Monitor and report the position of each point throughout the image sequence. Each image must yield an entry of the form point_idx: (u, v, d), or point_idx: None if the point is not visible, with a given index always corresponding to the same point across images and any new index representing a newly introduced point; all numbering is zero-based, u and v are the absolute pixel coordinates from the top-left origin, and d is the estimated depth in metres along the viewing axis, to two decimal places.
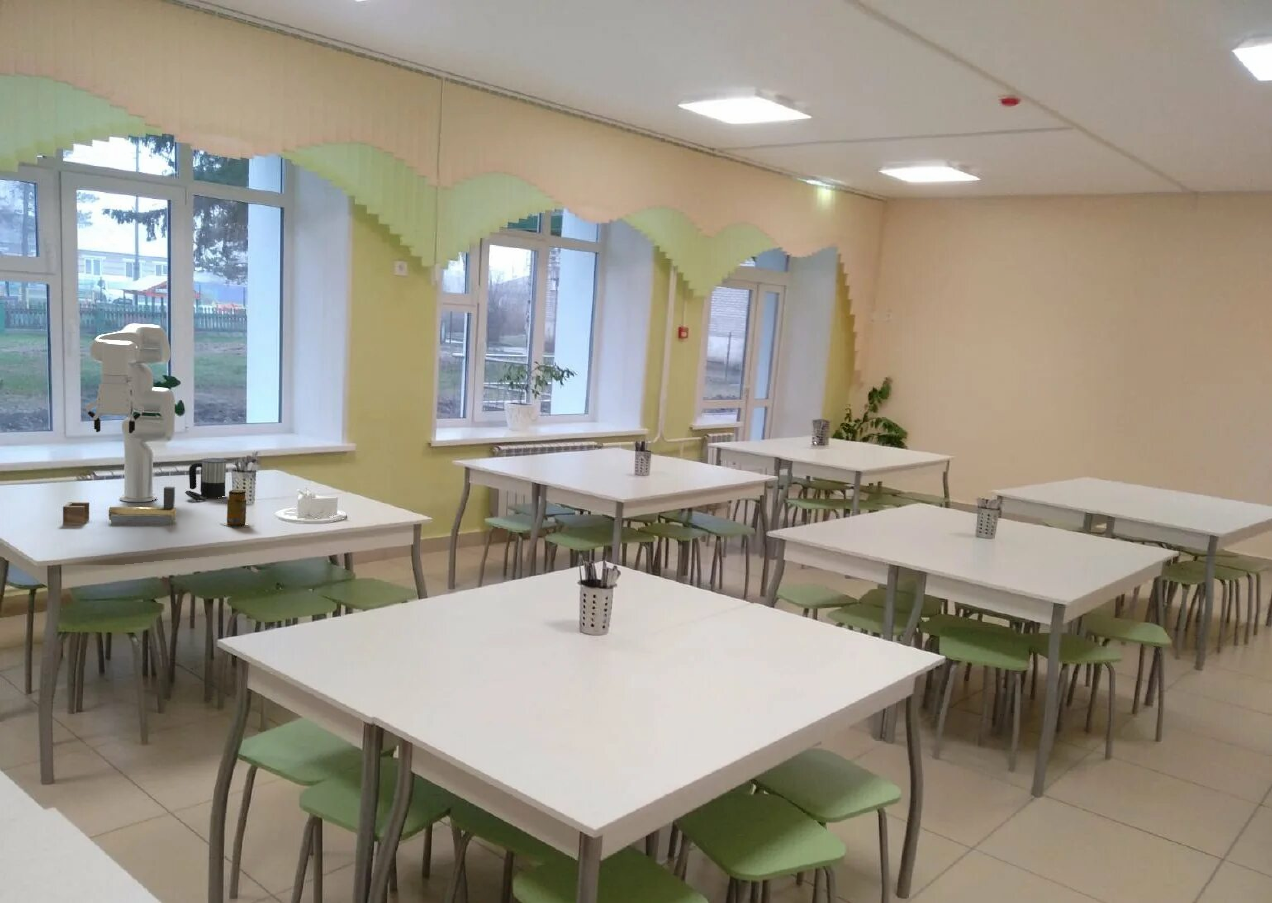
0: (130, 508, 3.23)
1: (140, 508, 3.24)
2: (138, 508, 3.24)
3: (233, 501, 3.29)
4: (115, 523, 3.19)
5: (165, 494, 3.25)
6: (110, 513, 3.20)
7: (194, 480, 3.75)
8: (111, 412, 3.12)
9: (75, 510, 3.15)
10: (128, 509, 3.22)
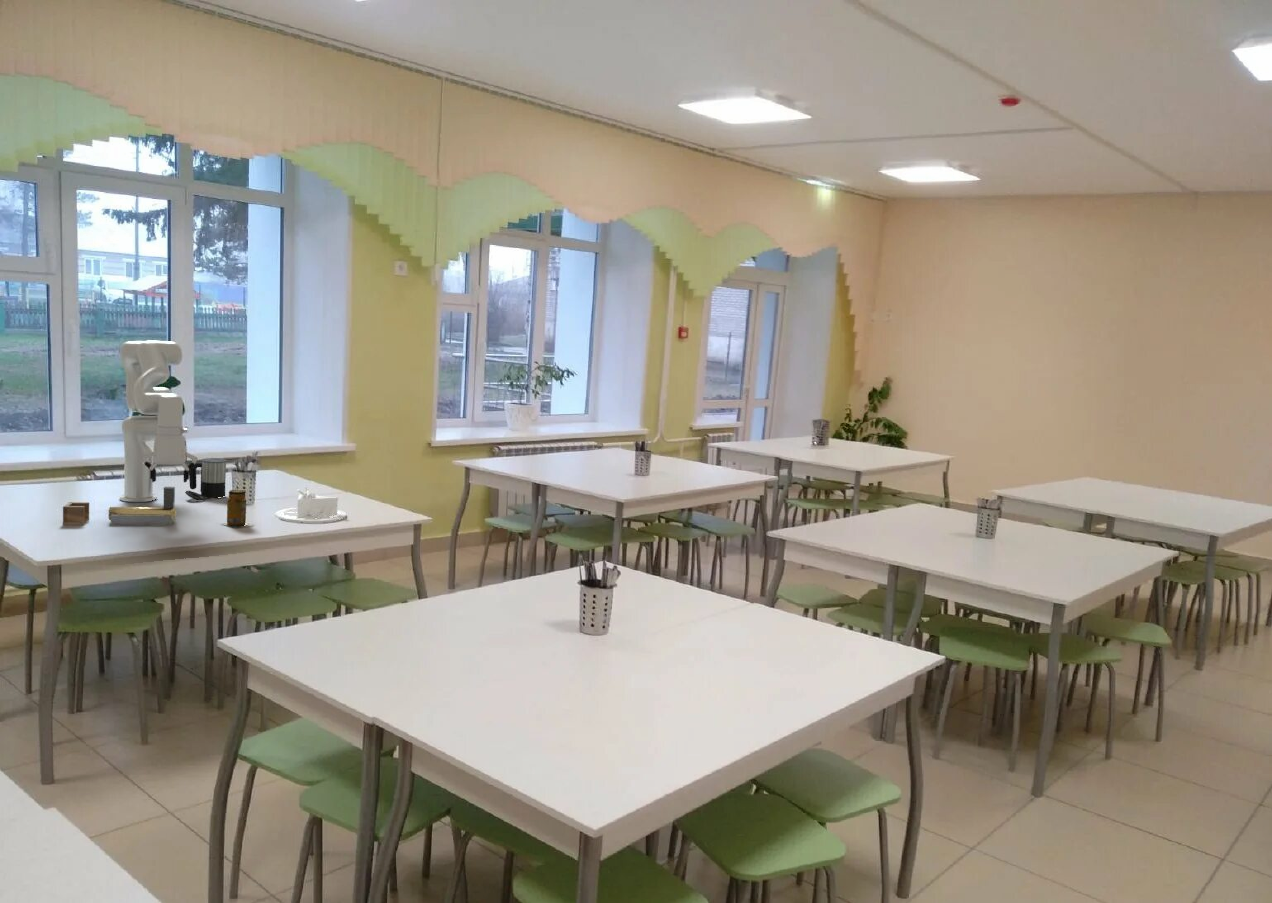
0: (130, 508, 3.23)
1: (140, 508, 3.24)
2: (138, 508, 3.24)
3: (233, 501, 3.29)
4: (115, 523, 3.19)
5: (165, 494, 3.25)
6: (110, 513, 3.20)
7: (194, 480, 3.75)
8: (167, 462, 3.23)
9: (75, 510, 3.15)
10: (128, 509, 3.22)
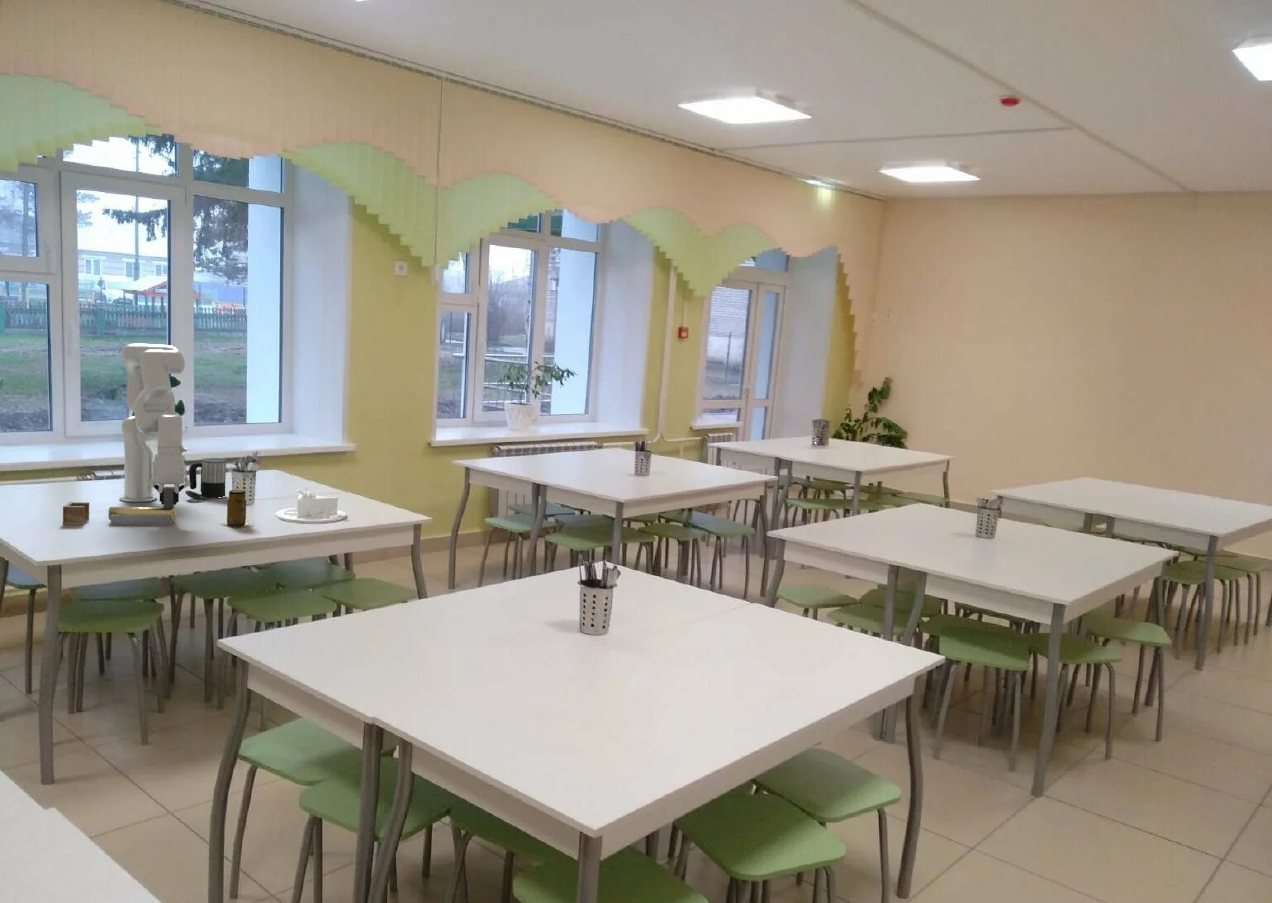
0: (130, 508, 3.23)
1: (140, 508, 3.24)
2: (138, 508, 3.24)
3: (233, 501, 3.29)
4: (115, 523, 3.19)
5: (165, 494, 3.25)
6: (110, 513, 3.20)
7: (194, 480, 3.74)
8: (166, 482, 3.24)
9: (75, 510, 3.15)
10: (128, 509, 3.22)
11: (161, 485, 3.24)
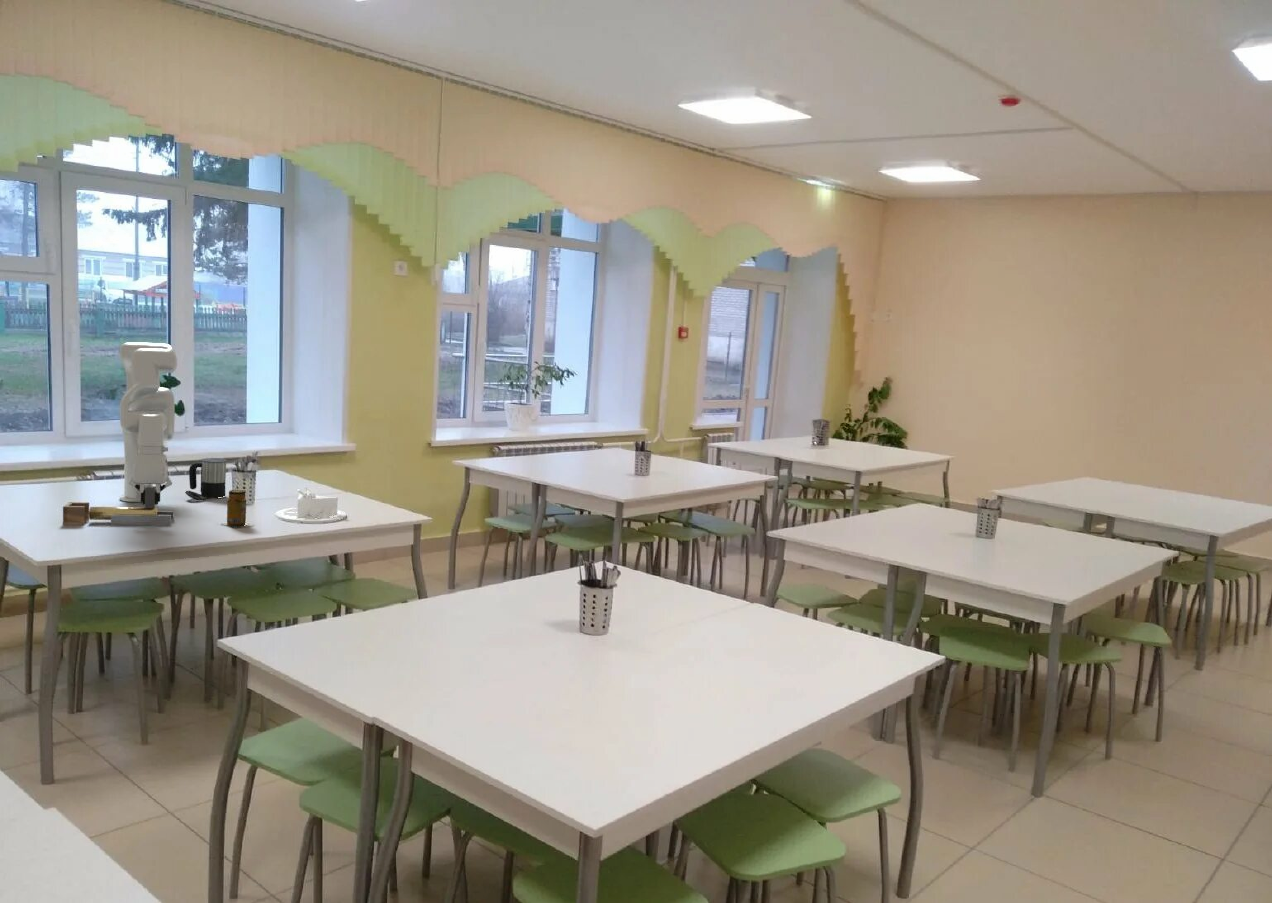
0: (111, 508, 3.21)
1: (121, 508, 3.22)
2: (119, 508, 3.22)
3: (233, 501, 3.29)
4: (115, 523, 3.19)
5: (146, 494, 3.23)
6: (91, 513, 3.18)
7: (194, 480, 3.74)
8: (147, 481, 3.22)
9: (75, 510, 3.15)
10: (109, 509, 3.21)
11: (142, 485, 3.23)
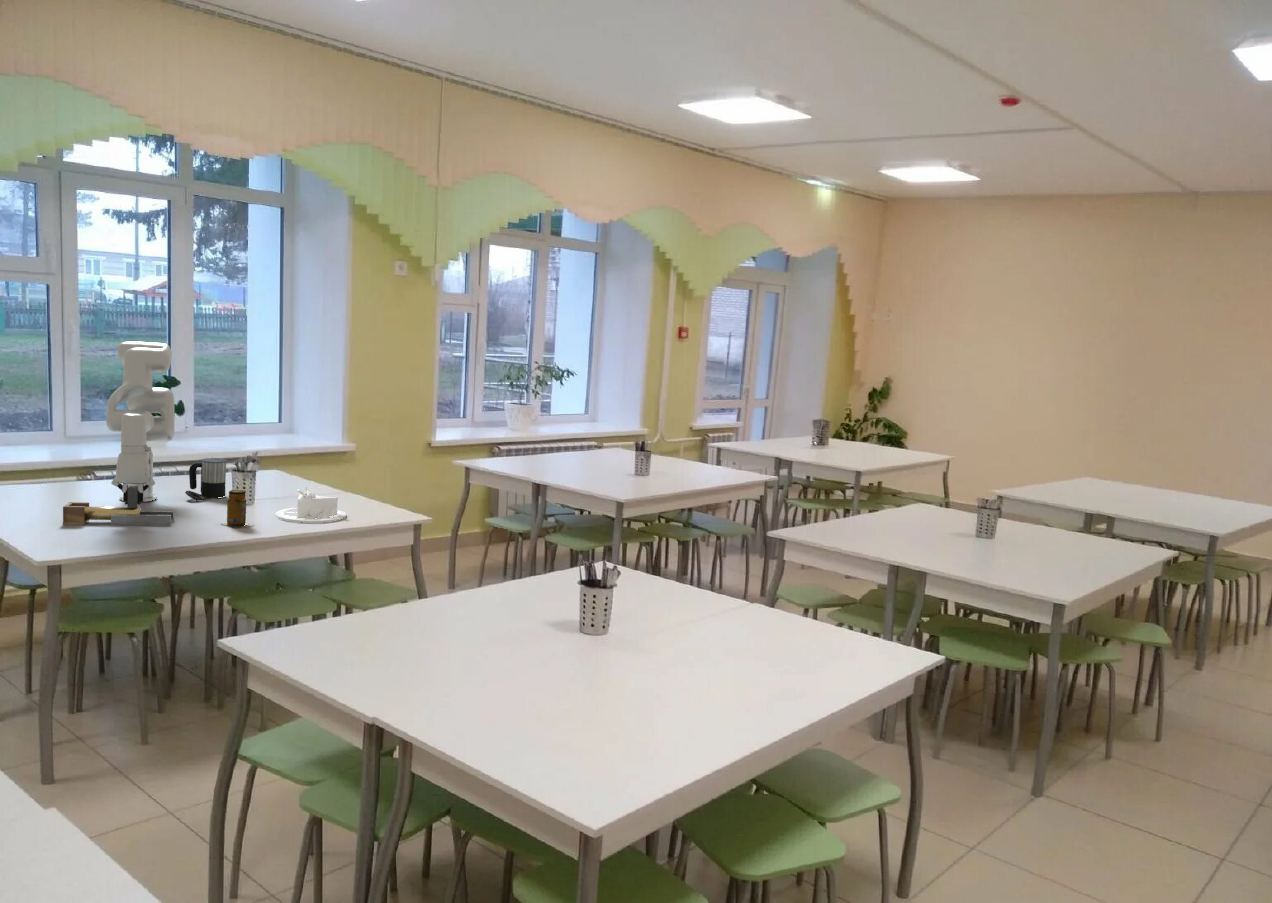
0: (93, 508, 3.19)
1: (104, 508, 3.20)
2: (101, 508, 3.20)
3: (233, 501, 3.29)
4: (115, 523, 3.19)
5: (129, 493, 3.22)
6: None
7: (194, 480, 3.74)
8: (130, 481, 3.21)
9: (75, 510, 3.15)
10: (91, 508, 3.19)
11: (125, 484, 3.21)
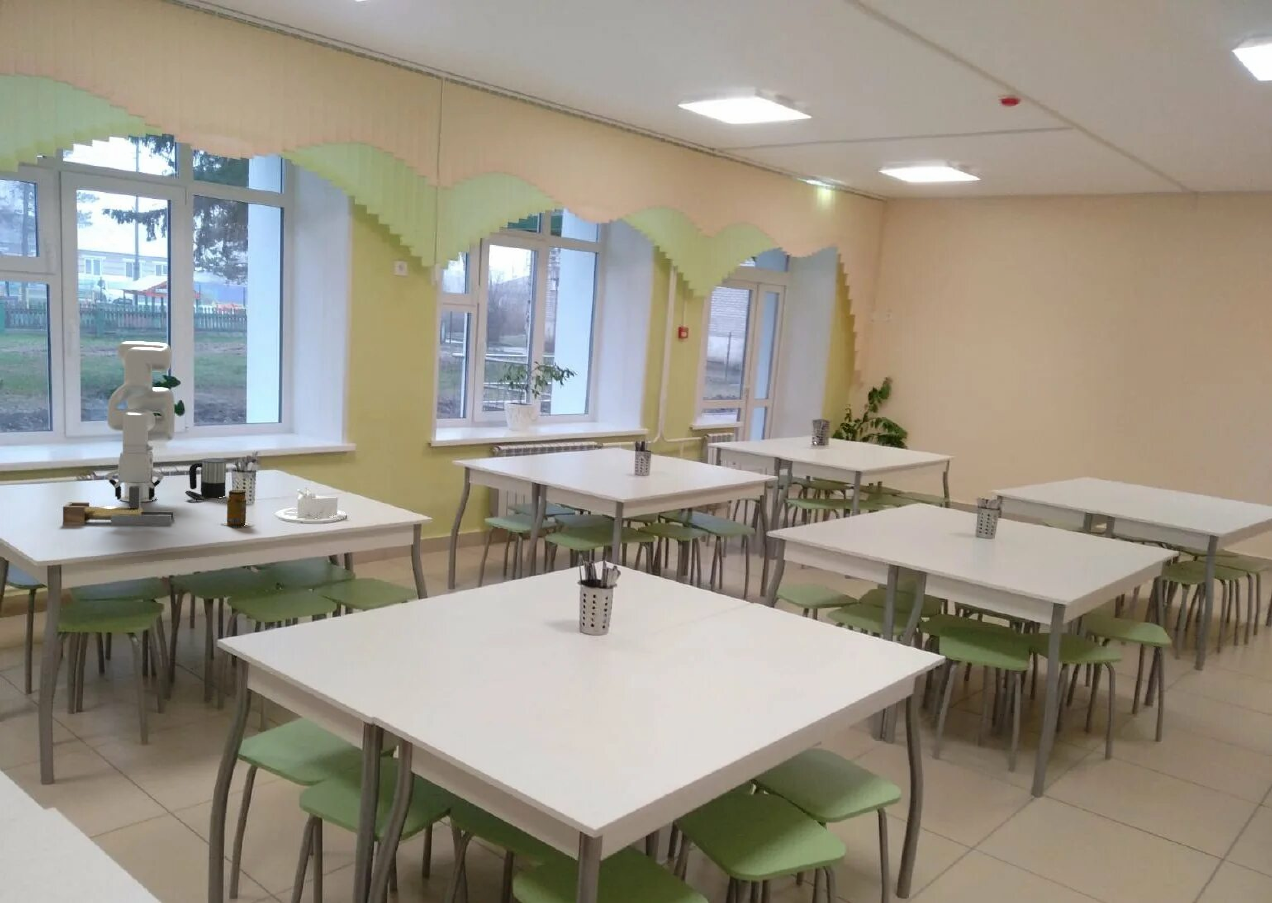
0: (94, 508, 3.19)
1: (105, 508, 3.21)
2: (103, 508, 3.20)
3: (233, 501, 3.29)
4: (115, 523, 3.19)
5: (130, 493, 3.22)
6: None
7: (194, 480, 3.74)
8: (132, 480, 3.21)
9: (75, 510, 3.15)
10: (93, 508, 3.19)
11: (120, 481, 3.21)
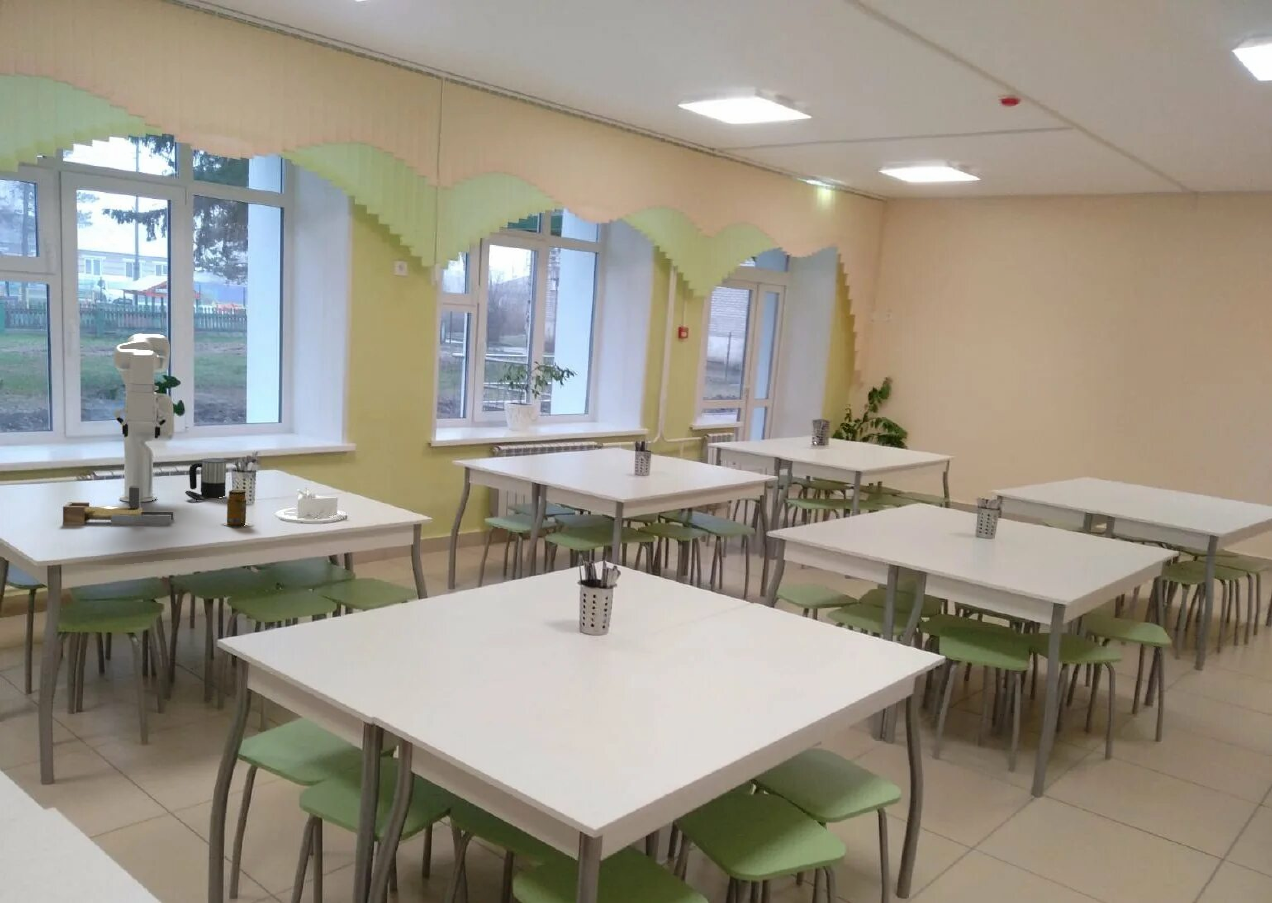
0: (94, 508, 3.19)
1: (105, 508, 3.21)
2: (103, 508, 3.20)
3: (233, 501, 3.29)
4: (115, 523, 3.19)
5: (130, 493, 3.22)
6: None
7: (194, 480, 3.74)
8: (138, 418, 3.32)
9: (75, 510, 3.15)
10: (93, 508, 3.19)
11: (127, 419, 3.32)
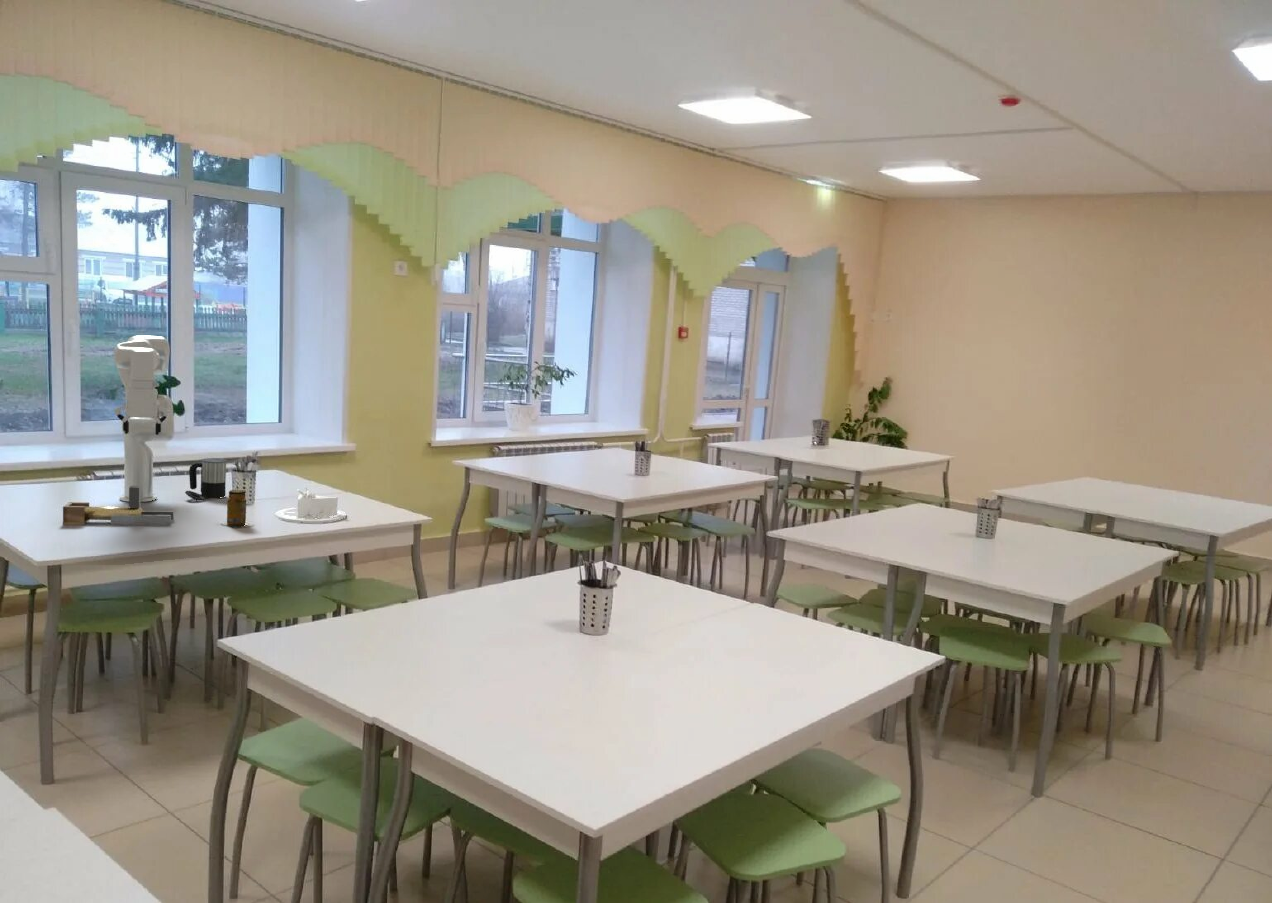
0: (94, 508, 3.19)
1: (105, 508, 3.21)
2: (103, 508, 3.20)
3: (233, 501, 3.29)
4: (115, 523, 3.19)
5: (130, 493, 3.22)
6: None
7: (194, 480, 3.74)
8: (139, 415, 3.33)
9: (75, 510, 3.15)
10: (93, 508, 3.19)
11: (128, 416, 3.33)
